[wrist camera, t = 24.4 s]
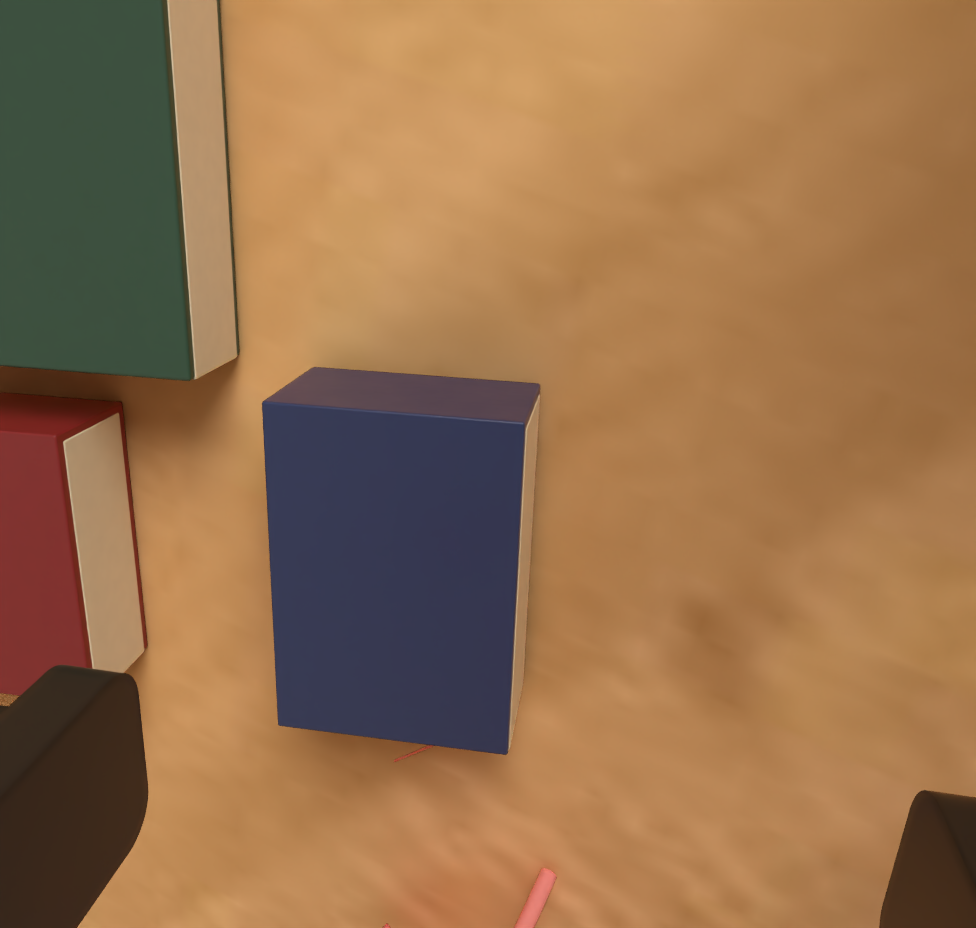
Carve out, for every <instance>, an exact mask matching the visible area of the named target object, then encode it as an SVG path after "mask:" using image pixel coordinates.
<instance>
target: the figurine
mask: <svg viewBox="0 0 976 928" xmlns="http://www.w3.org/2000/svg"><path fill="white" fill-rule="evenodd" d="M430 747H433V745H429V746H427V747H424V748H422V749H419V750H417V751H414V752H412V753H410V754H407V755H405V756H402V757H400V758H397V759H395V760H394V762H396V761H399V760H401V759H404V758H406V757H408V756H411V755H413V754H416V753H418V752H421V751H423V750H425V749H428V748H430ZM556 878H557V877H556V875H555V874H554V873H553V872H552V871H550V870H549V869H546V868H542V869H541V871H540V873H539V875H538V877H537V880H536V882H535V884H534V886H533V888H532V890H531V892H530V895H529V897H528V899H527V901H526V903H525V905H524V908H523V910H522V912H521V914H520V916H519V918H518V920H517V923H516V925H515V927H514V928H534V927H535V925H536V923H537V920H538V918H539V916H540V914H541V912H542V909H543V907H544V905H545V903H546V900H547V898H548V896H549V894H550V891H551V889H552V887H553V885H554V883H555V880H556ZM383 928H390V926H389V925H388V924H386V925H385V926H384V927H383Z"/></svg>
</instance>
